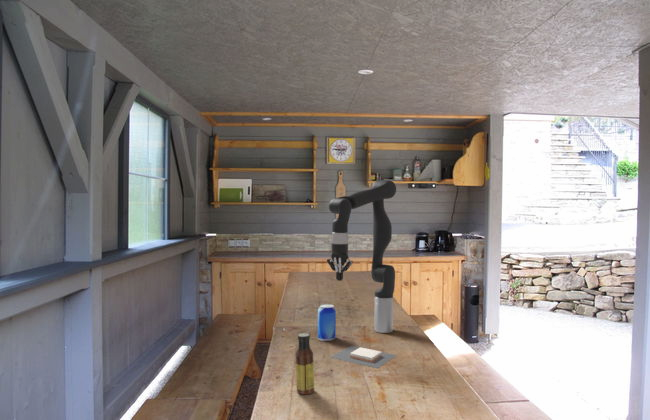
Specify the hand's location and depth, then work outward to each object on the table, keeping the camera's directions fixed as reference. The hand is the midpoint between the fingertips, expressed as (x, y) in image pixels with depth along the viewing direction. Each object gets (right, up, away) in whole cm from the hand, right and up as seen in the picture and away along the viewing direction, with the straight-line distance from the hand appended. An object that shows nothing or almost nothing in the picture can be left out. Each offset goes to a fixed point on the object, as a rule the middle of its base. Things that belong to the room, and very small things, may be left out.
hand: (339, 280), depth 211 cm
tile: (+6, -28, -15) cm, 32 cm away
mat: (+10, -30, -17) cm, 36 cm away
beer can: (-6, -29, +7) cm, 30 cm away
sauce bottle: (-13, -31, -51) cm, 61 cm away
